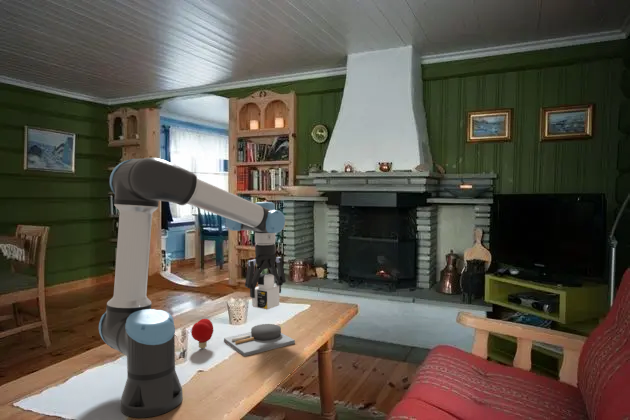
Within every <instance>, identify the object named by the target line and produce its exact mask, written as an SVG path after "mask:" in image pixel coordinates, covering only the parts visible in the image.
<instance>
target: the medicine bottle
mask: <svg viewBox="0 0 630 420" xmlns="http://www.w3.org/2000/svg"><path fill="white" fill-rule="evenodd" d="M274 284H275V280H274V275H272V274H271V273H261V275H260V277H259V280H258V282H257V286H256V287H255V288H256V289H257V306H258V307H254V306H252V307H253V308H257V309H262V310H266V311H268V310H270V309H273V308H275V307H276V308H277V307H278V306H280V293H279V287H277V286H274Z"/></svg>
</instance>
